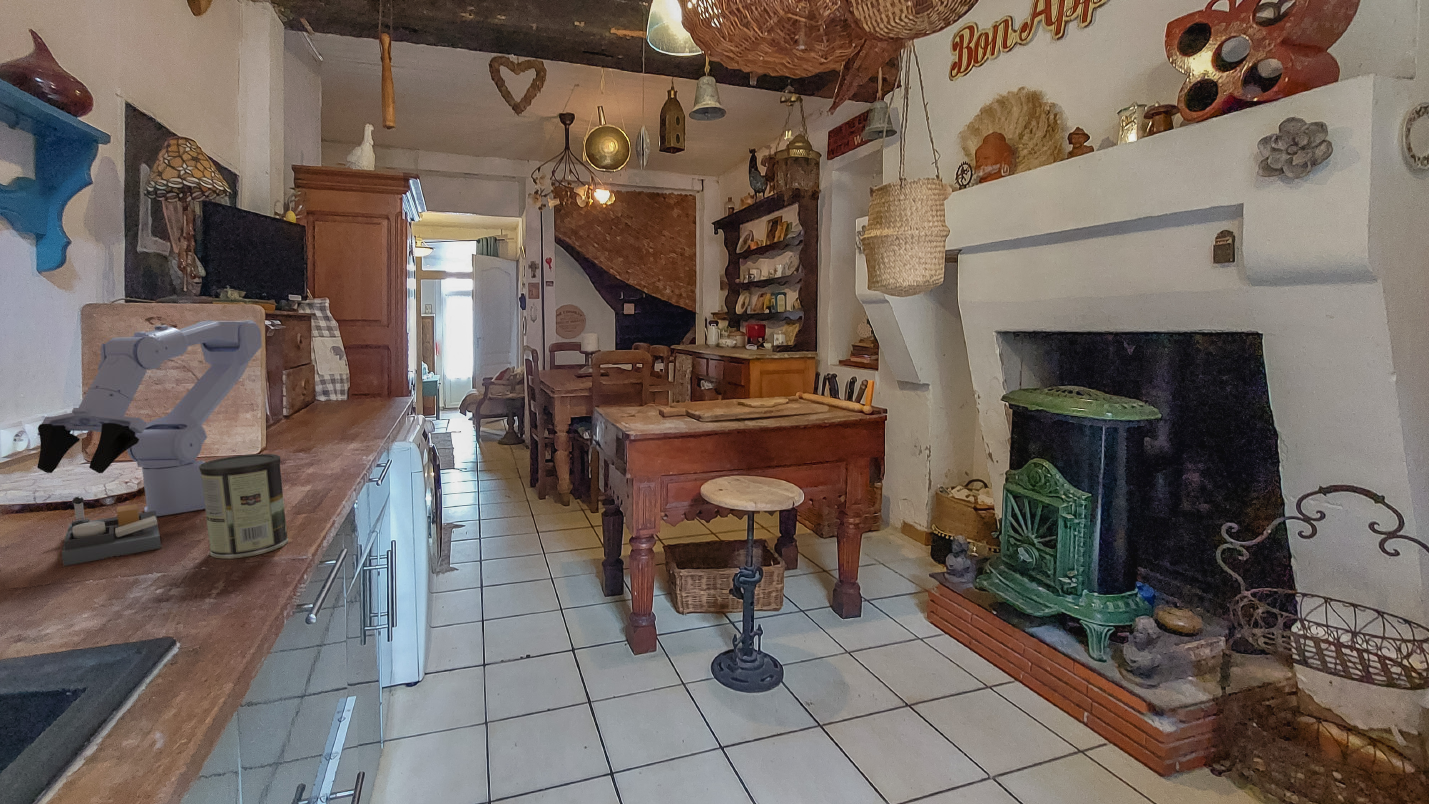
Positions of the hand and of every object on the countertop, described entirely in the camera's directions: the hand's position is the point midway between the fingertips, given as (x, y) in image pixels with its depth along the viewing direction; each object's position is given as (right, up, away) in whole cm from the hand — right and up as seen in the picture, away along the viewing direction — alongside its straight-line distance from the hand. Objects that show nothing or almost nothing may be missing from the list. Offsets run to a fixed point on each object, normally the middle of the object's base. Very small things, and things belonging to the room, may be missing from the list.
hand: (70, 470), depth 103 cm
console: (+4, -12, +3) cm, 13 cm away
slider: (+5, -10, +5) cm, 12 cm away
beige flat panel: (+10, -9, +1) cm, 14 cm away
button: (+5, -10, -2) cm, 11 cm away
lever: (-3, -9, +5) cm, 11 cm away
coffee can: (+28, -13, +1) cm, 31 cm away
